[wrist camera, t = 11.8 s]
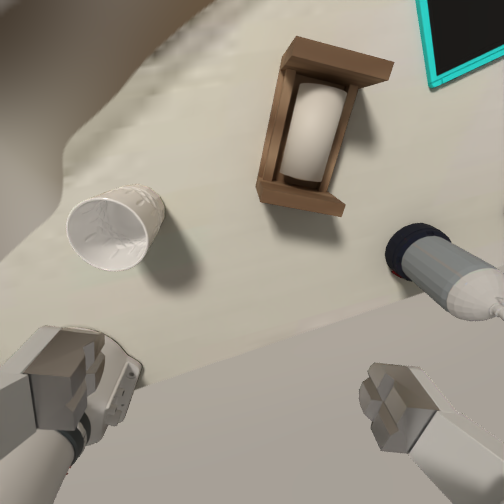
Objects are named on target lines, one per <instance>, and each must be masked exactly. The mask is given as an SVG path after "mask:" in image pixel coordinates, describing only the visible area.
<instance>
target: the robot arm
mask: <svg viewBox="0 0 504 504" xmlns="http://www.w3.org/2000/svg"><path fill="white" fill-rule="evenodd" d="M141 369H142V365H141V364H140V363H139V362H138V361H137V360H135V359H133V358H132V357H130V356H128V355H127V354H126V353H125V352H124V351H123V349H122V348H121V347H120V346H119V345H118V344H117V343H116V342H115V341H113V340H112V339H111V338H109V337H108V336H106V335H105V334H103V333H102V332H97V331H94V330H90V329H85V328H76V327H71V328H66V327H65V328H62V327H55V326H48V325H44V326H42V327H40V328H38V329H37V330H36V331H35V332H34V333H33V334H32V335H31V337H30V338H29V339H28V340H27V341H26V342H25V343H24V344H23V345H22V346H21V347H20V348H19V349H18V350H17V351H16V352H15V353H14V354H13V355H12V356H11V357H10V358H9V359H8V360H7V361H6V362H5V363H4V364H3V365H2V366H1V367H0V504H53V502H54V500H55V498H56V495H57V493H58V491H59V489H60V487H61V484H62V482H63V480H64V478H65V476H66V475H67V474H68V473H67V472H68V469H69V468H71V466H72V465H73V464H74V463H75V462H76V460H77V458H78V457H80V455H81V454H82V452H83V451H84V449H85V446H88V445H91V444H94V443H97V442H98V441H100V440H101V439H102V437H103V435H104V433H105V431H106V429H107V426H108V425H111V426H117V424H118V423H120V422H122V421H123V419H124V418H125V416H126V413H127V410H128V407H129V404H130V401H131V398H132V395H133V392H134V389H135V386H136V383H137V381H138V378H139V375H140V372H141ZM368 374H369V378H367V379H366V380H365V381H363V382H362V384H361V387H360V389H359V401H360V405H361V408H362V410H363V412H364V414H365V415H366V416H367V417H368V418H369V419H370V420H371V421H372V424H371V430H372V432H373V434H374V436H375V439H376V441H377V443H378V445H379V447H380V449H381V451H387V452H397V453H407V454H408V456H409V457H410V458H411V459H412V460H413V461H414V462H415V463H416V464H417V465H418V467H419V468H420V469H421V470H422V471H423V472H424V473H425V474H426V475H427V476H428V477H429V478H430V479H431V481H432V482H433V483H434V484H435V485H436V486H437V487H438V488H439V489H440V490H441V491H442V493H444V494H445V496H446V497H447V498H448V499H449V500H450V501H451V502H452V503H453V504H504V442H502V441H501V440H500V439H498V438H497V437H495V436H494V435H493V434H491V433H490V432H488V431H487V430H485V429H484V428H483V427H481V426H480V425H478V424H477V423H476V422H474V421H473V420H471V419H470V418H469V417H467V416H466V415H464V414H463V413H458V412H457V411H456V410H455V409H454V407H453V406H452V405H451V404H450V402H449V401H448V400H447V398H446V397H445V396H444V395H443V393H442V392H441V391H440V390H439V388H438V387H437V386H436V385H435V383H434V382H433V381H432V380H431V378H430V377H429V376H428V375H427V373H426V372H425V371H424V370H423V369H421V368H420V367H415V366H405V365H404V366H402V365H393V364H383V363H373V364H372V365H371V366H370V368H369V370H368Z"/></svg>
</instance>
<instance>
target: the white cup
mask: <svg viewBox="0 0 504 504" xmlns="http://www.w3.org/2000/svg"><path fill="white" fill-rule="evenodd" d="M164 218H165V206H164V204H163V202H162V200H161V198H160V196H159V195H158V194H157V193H155V192H154V191H153V190H152V189H151V188H149V187H146V186H143V185H140V184H132V185H125V186H123V187H119V188H115V189H113V190H110V191H107V192H104V193H102V194H99V195H97V196H94V197H92V198H89V199H87V200H84V201H82V202H80V203H79V204H77V205H76V206H75V207H74V208H73V209H72V210H71V212H70V214H69V216H68V218H67V222H66V233H67V238H68V241H69V243H70V245H71V247H72V248H73V250H74V251H75V252H76V254H77V255H78V256H79V257H80V258H81V259H83V260H84V261H85V262H87V263H88V264H90V265H92V266H94V267H96V268H98V269H102V270H106V271H124V270H127V269H130V268H132V267H134V266H136V265H137V264H138V263H140V262H141V260H142V259H143V258H144V256H145V255H146V253H147V251H148V249H149V248H150V246H151V244H152V242H153V241H154V239H155V237H156V236H157V233H158V231H159V230H160V226H161V224H162V222H163V220H164Z"/></svg>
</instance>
